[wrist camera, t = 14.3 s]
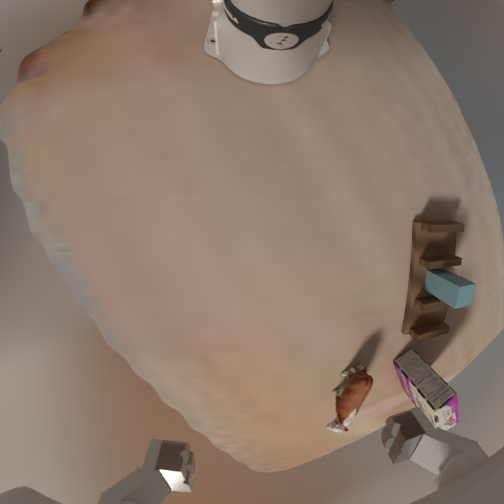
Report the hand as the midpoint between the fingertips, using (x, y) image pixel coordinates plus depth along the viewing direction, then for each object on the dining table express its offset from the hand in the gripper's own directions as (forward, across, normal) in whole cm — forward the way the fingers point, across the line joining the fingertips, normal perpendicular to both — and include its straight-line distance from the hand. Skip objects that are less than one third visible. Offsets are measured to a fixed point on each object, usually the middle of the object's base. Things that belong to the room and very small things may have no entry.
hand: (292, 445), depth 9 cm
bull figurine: (+31, -15, +26) cm, 43 cm away
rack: (+31, -31, +6) cm, 44 cm away
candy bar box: (+31, -30, +26) cm, 51 cm away
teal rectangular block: (+30, -31, +6) cm, 43 cm away
